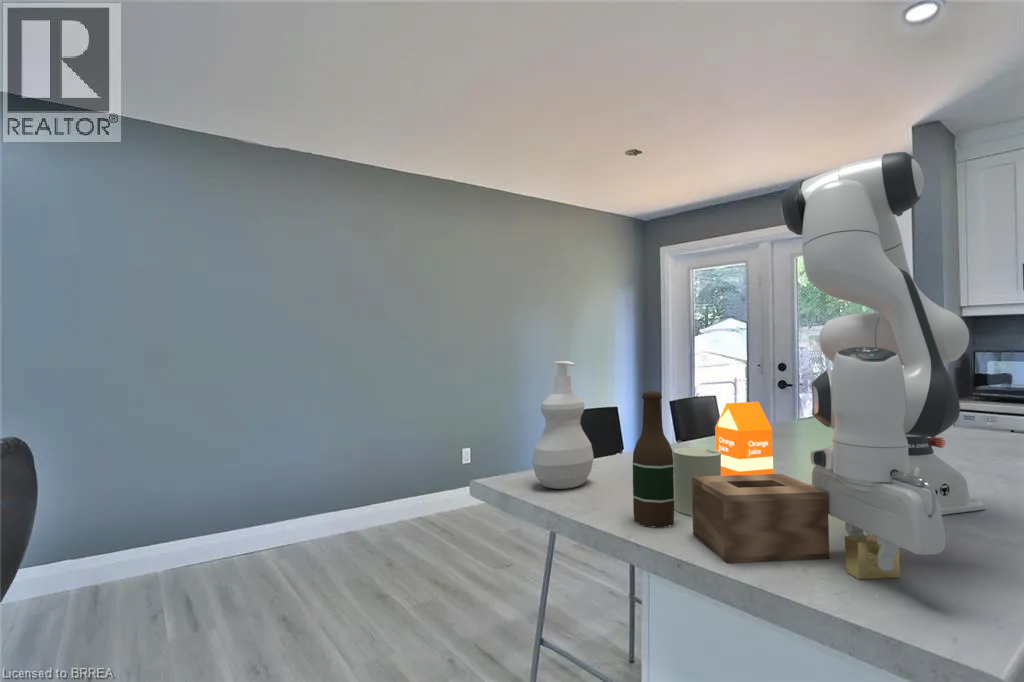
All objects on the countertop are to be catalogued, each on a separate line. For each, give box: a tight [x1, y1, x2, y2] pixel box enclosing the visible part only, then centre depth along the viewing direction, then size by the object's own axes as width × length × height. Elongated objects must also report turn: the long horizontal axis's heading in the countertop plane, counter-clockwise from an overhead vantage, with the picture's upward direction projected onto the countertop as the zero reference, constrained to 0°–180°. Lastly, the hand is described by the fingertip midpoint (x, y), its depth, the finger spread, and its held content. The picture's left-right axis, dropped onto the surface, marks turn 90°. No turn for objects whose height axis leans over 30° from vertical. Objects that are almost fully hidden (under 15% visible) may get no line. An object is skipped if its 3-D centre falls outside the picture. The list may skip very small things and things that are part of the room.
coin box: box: [692, 473, 830, 564], centre depth 85 cm, size 16×12×10 cm
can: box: [672, 446, 721, 516], centre depth 105 cm, size 9×9×12 cm
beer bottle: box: [632, 390, 675, 528], centre depth 98 cm, size 8×8×24 cm
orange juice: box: [714, 401, 774, 476], centre depth 116 cm, size 8×9×20 cm
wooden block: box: [844, 534, 901, 580], centre depth 74 cm, size 6×2×5 cm, turn 94°
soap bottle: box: [532, 360, 595, 490], centre depth 125 cm, size 17×12×29 cm
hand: (872, 562), depth 74 cm, fingers closed on wooden block, 2 cm apart
